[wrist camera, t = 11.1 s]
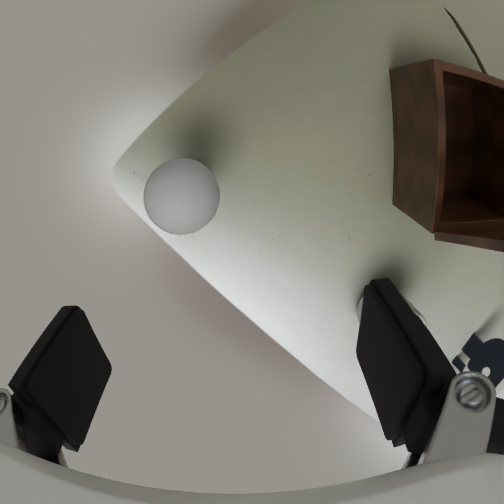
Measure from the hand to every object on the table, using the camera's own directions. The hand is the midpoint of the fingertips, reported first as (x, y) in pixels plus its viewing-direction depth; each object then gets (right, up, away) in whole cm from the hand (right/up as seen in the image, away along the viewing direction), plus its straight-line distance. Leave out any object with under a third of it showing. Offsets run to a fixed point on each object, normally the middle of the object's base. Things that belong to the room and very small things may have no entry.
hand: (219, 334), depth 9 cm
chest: (+23, +16, +19) cm, 33 cm away
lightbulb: (-5, +11, +21) cm, 24 cm away
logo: (+45, -15, +34) cm, 58 cm away
